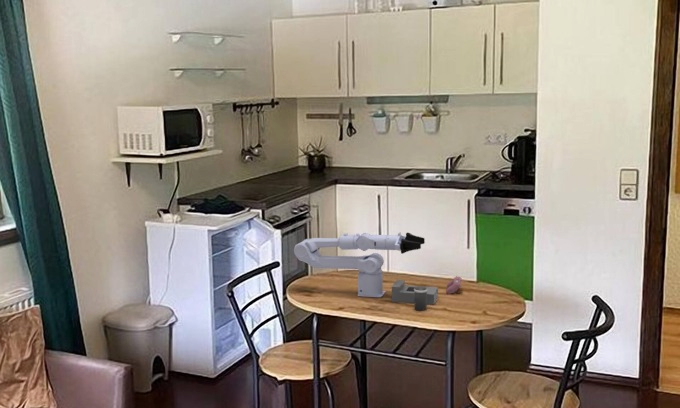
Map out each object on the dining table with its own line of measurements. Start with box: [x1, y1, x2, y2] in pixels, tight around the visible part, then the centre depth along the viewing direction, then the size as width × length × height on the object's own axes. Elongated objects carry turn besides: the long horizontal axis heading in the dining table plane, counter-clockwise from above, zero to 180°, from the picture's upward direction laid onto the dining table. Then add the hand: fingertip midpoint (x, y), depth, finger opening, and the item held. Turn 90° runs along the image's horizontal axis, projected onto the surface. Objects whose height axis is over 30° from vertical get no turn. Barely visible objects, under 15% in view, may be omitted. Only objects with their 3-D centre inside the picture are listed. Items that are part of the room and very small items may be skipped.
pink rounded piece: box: [445, 275, 462, 295], centre depth 275 cm, size 10×5×7 cm, turn 169°
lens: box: [414, 285, 428, 312], centre depth 253 cm, size 5×5×8 cm
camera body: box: [391, 279, 439, 306], centre depth 265 cm, size 16×10×6 cm, turn 74°
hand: (422, 243), depth 264 cm, fingers open, 7 cm apart
